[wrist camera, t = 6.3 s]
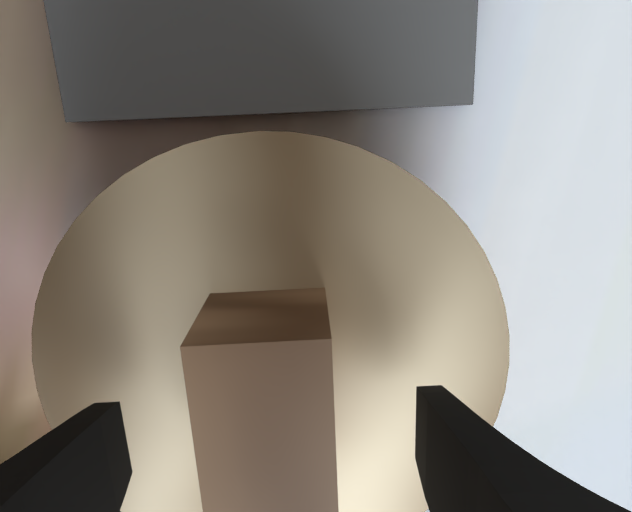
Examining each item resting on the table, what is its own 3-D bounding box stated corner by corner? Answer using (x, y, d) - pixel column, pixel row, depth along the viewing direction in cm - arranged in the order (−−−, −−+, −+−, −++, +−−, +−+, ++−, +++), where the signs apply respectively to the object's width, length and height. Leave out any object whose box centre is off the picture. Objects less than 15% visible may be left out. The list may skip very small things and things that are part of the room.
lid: (92, 549, 15) (24, 684, 12) (-1, 143, 12) (-141, 151, 8) (485, 526, 15) (542, 653, 12) (513, 118, 12) (607, 116, 8)
